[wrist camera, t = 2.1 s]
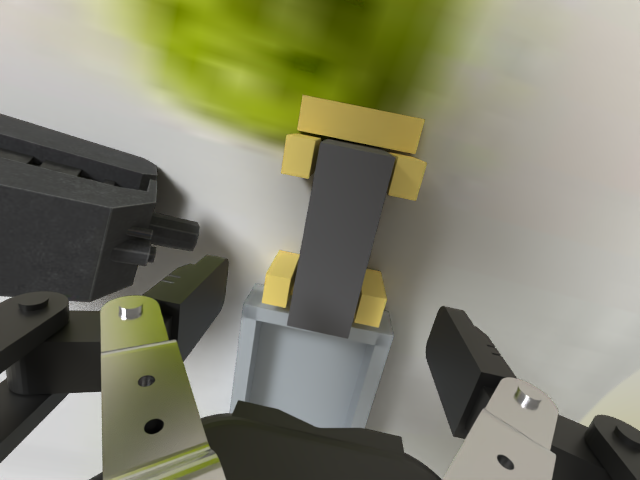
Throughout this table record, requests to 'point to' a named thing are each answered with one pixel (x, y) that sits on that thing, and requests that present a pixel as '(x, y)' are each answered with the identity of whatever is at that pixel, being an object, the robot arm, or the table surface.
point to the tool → (77, 214)
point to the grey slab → (338, 235)
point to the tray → (308, 366)
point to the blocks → (302, 163)
